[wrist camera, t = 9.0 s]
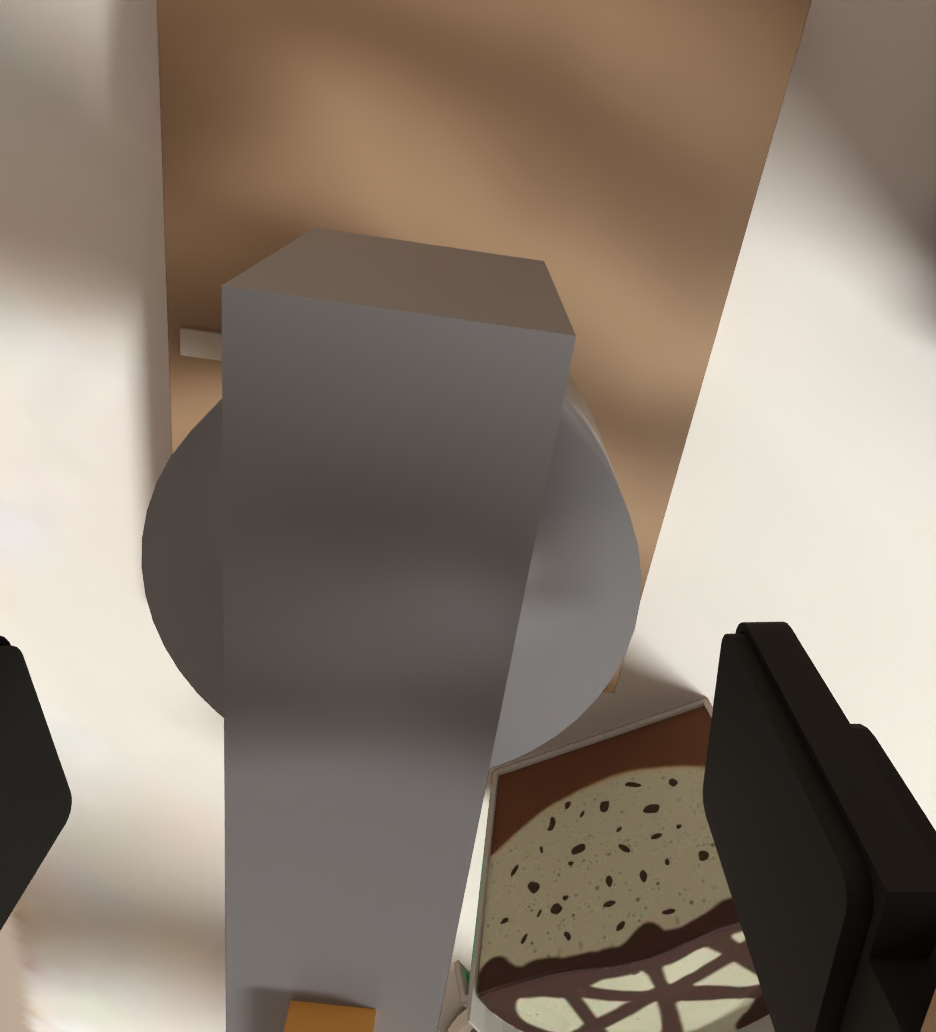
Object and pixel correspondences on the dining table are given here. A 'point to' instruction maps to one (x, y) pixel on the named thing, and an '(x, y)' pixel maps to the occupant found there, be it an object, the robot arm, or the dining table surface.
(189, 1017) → the dining table surface
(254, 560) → the rotary lever handle
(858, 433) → the dining table surface
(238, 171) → the board
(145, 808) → the dining table surface
